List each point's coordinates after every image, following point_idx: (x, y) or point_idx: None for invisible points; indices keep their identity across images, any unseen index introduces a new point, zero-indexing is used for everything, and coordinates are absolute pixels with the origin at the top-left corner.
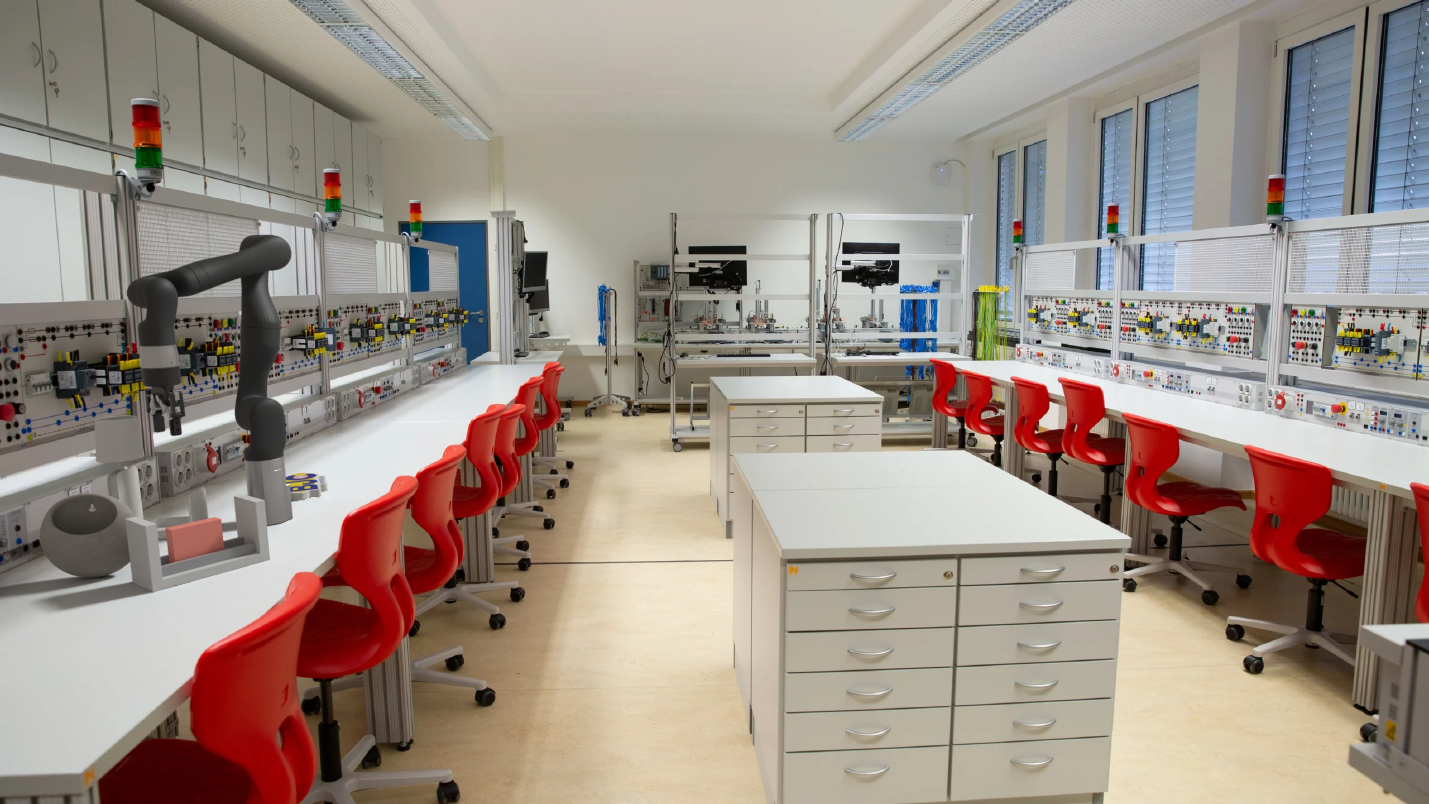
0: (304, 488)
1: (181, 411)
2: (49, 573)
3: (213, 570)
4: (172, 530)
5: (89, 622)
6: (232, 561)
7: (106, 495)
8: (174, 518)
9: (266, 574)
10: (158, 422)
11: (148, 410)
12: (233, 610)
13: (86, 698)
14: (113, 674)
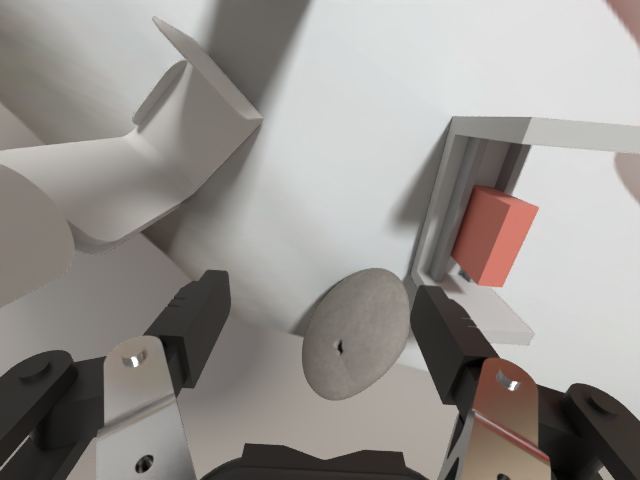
0: None
1: (613, 449)
2: (278, 303)
3: None
4: (502, 286)
5: None
6: (514, 189)
7: (388, 366)
8: (151, 94)
9: (577, 171)
10: (208, 335)
11: (85, 440)
12: (623, 265)
13: (619, 391)
14: (608, 371)
